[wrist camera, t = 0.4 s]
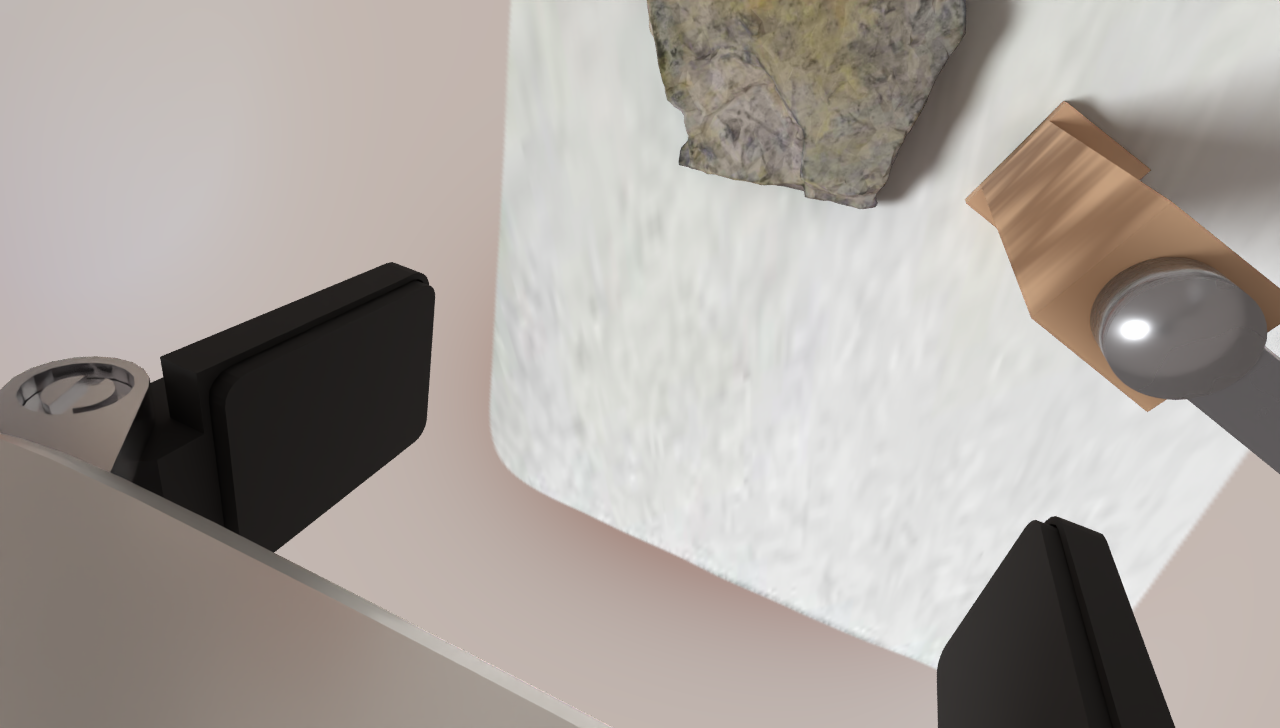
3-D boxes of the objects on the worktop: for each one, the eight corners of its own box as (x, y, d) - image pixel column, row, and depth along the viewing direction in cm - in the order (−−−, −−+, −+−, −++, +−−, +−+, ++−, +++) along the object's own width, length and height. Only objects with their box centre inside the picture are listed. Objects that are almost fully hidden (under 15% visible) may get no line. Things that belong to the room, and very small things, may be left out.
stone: (935, 205, 37) (937, 219, 34) (665, 195, 42) (646, 207, 39) (996, -212, 29) (1005, -241, 26) (659, -162, 34) (635, -182, 31)
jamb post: (1063, 100, 32) (1213, 167, 16) (1145, 166, 32) (1384, 304, 16) (965, 199, 36) (1001, 342, 19) (1039, 259, 36) (1142, 457, 19)
